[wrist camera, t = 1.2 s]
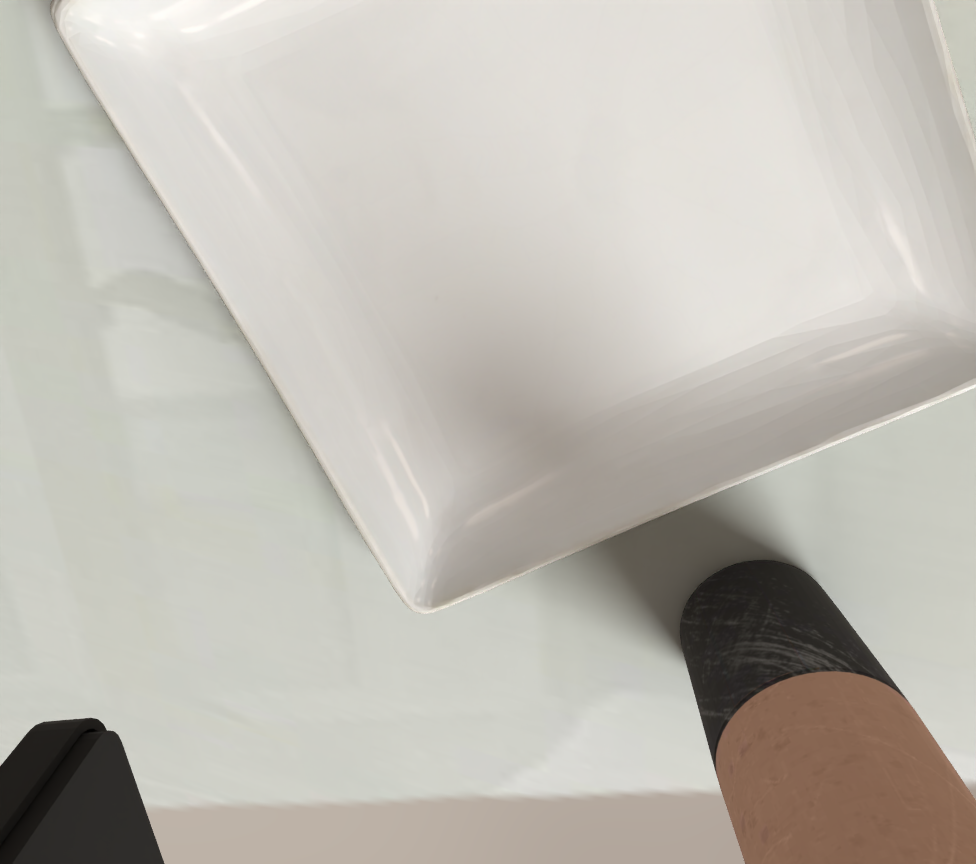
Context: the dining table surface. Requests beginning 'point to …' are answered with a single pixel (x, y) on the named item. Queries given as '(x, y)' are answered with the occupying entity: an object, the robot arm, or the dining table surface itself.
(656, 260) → the square plate
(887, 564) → the dining table surface
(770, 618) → the travel mug
